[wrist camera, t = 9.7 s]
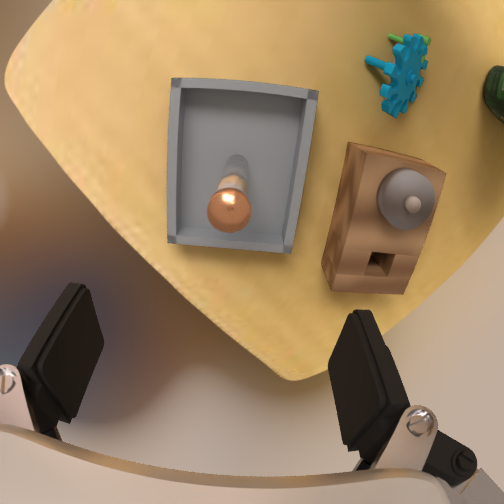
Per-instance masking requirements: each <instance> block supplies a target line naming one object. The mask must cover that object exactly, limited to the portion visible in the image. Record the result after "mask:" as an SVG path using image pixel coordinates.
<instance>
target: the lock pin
mask: <svg viewBox="0 0 504 504" xmlns="http://www.w3.org/2000/svg"><path fill="white" fill-rule="evenodd" d="M247 177H248V163H247V160H246V159H245V158H244V157H243V156H241V155H232V156H230V157H229V158H228V159H227V161H226V163H225V167H224V170H223V173H222V176H221V179H220V183H219V186H218V189H217V192H215V193H214V194H213V196H212V197H211V199H210V201H209V204H208V207H207V217H208V220H209V222H210V223H211V225H212V226H213V227H214V228H216V229H217V230H219V231H222V232H226V233H233V232H237V231H240V230H241V229H243V228H244V227H245V226H246V225H247V224H248V222H249V220H250V218H251V203H250V200H249V198H248V197H247Z"/></svg>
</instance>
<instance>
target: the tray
mask: <svg viewBox="0 0 504 504" xmlns="http://www.w3.org/2000/svg"><path fill="white" fill-rule="evenodd" d="M318 92H319V91H316V90H310V89H304V88H298V87H292V86H285V85H278V84H270V83H261V82H252V81H241V80H227V79H209V78H172V79H171V92H170V107H169V125H168V151H167V236H168V243H173V244H185V245H196V246H208V247H219V248H230V249H242V250H253V251H265V252H276V253H287V254H291V252H292V246H293V241H294V236H295V231H296V225H297V220H298V215H299V209H300V204H301V198H302V193H303V187H304V181H305V175H306V169H307V163H308V157H309V151H310V145H311V139H312V132H313V126H314V119H315V113H316V106H317V99H318ZM232 155H241V156H243V157H244V158H245V159H246V160H247V163H248V177H247V197H248V198H249V200H250V203H251V218H250V220H249V222H248V224H247V225H246V226H245V227H244V228H243V229H241V230H240V231H237V232H233V233H226V232H222V231H219V230H217V229H216V228H214V227H213V226H212V225H211V223H210V222H209V220H208V217H207V207H208V204H209V201H210V199H211V197H212V196H213V194H214V193H215V192H217V189H218V186H219V183H220V179H221V176H222V173H223V170H224V167H225V163H226V161H227V159H228V158H229V157H230V156H232Z"/></svg>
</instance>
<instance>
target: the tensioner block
mask: <svg viewBox="0 0 504 504" xmlns="http://www.w3.org/2000/svg"><path fill="white" fill-rule="evenodd" d="M445 176H446V173H445V172H443V171H441V170H439V169H438V168H436V167H434V166H432V165H430V164H429V163H427V162H425V161H423V160H421V159H418V158H415V157H411V156H407V155H403V154H399V153H395V152H391V151H387V150H383V149H379V148H374V147H370V146H365V145H361V144H356V143H351V142H348V145H347V150H346V156H345V161H344V166H343V171H342V176H341V181H340V185H339V190H338V195H337V199H336V204H335V208H334V213H333V217H332V221H331V226H330V230H329V234H328V238H327V242H326V246H325V250H324V254H323V258H322V262H321V264H322V267H323V270H324V272H325V275H326V278H327V281H328V283H329V286H330V289H331V291H339V292H357V293H378V294H402V295H403V294H404V291H405V289H406V287H407V285H408V282H409V280H410V278H411V275H412V273H413V270H414V268H415V265H416V263H417V260H418V258H419V255H420V253H421V250H422V247H423V245H424V242H425V239H426V237H427V234H428V231H429V228H430V225H431V222H432V219H433V216H434V213H435V210H436V207H437V204H438V200H439V197H440V194H441V190H442V187H443V183H444V180H445Z"/></svg>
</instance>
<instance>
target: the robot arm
mask: <svg viewBox="0 0 504 504" xmlns="http://www.w3.org/2000/svg"><path fill="white" fill-rule="evenodd" d="M103 346H104V339H103V335H102V332H101V329H100V326H99V322H98V319H97V315H96V312H95V308H94V305H93V301H92V297H91V294H90V291H89V289H87V288H86V286H85V285H83V284H79V283H72V282H71V283H69V284H68V285H67V287H66V288H65V289H64V291H63V292H62V294H61V295H60V297H59V298H58V300H57V301H56V303H55V304H54V306H53V307H52V309H51V310H50V312H49V313H48V315H47V316H46V318H45V319H44V321H43V322H42V324H41V326H40V327H39V329H38V330H37V332H36V334H35V335H34V337H33V338H32V340H31V342H30V343H29V345H28V347H27V348H26V350H25V352H24V354H23V355H22V357H21V359H20V361H19V363H18V366H17V367H14V366H12V365H8V364H5V365H1V366H0V504H504V493H503V491H502V490H501V489H500V488H499V487H498V486H497V485H496V484H495V482H494V481H493V480H492V479H491V478H490V477H489V476H488V475H487V474H486V473H485V472H484V470H483V469H482V468H480V469H477V459H476V456H475V454H474V453H473V451H472V450H470V449H469V448H468V447H466V446H464V445H462V444H461V443H459V442H457V441H456V440H454V439H452V438H451V437H449V436H447V435H446V434H444V433H442V432H440V431H439V430H437V429H438V422H437V419H436V416H435V415H434V414H433V412H432V411H431V410H429V409H428V408H426V407H424V406H420V405H414V406H410V403H409V400H408V397H407V394H406V391H405V389H404V386H403V383H402V381H401V378H400V375H399V373H398V370H397V368H396V365H395V362H394V360H393V357H392V355H391V352H390V350H389V348H388V347H387V346H386V345H385V343H384V340H383V338H382V335H381V333H380V331H379V328H378V326H377V323H376V321H375V319H374V316H373V314H372V312H371V311H370V310H354V311H353V313H350V314H349V315H348V317H347V319H346V322H345V324H344V326H343V329H342V331H341V334H340V336H339V338H338V341H337V343H336V345H335V348H334V350H333V352H332V354H331V357H330V359H329V362H328V371H329V375H330V380H331V385H332V390H333V395H334V399H335V405H336V409H337V415H338V420H339V425H340V430H341V436H342V441H343V444H344V445H347V447H348V452H349V451H357V450H359V453H360V457H361V459H360V460H359V462H358V463H357V465H356V466H355V468H354V469H353V471H352V472H343V473H335V474H321V475H307V476H285V477H252V476H229V475H215V474H205V473H195V472H188V471H180V470H174V469H167V468H161V467H156V466H151V465H145V464H140V463H136V462H131V461H127V460H123V459H119V458H115V457H111V456H107V455H104V454H100V453H97V452H93V451H90V450H87V449H83V448H80V447H77V446H74V445H71V444H68V443H65V442H63V441H62V439H61V436H60V434H59V431H58V429H57V423H58V420H60V421H63V422H66V423H69V424H70V422H71V419H72V418H75V417H76V415H77V413H78V410H79V407H80V404H81V402H82V399H83V396H84V394H85V391H86V388H87V386H88V383H89V381H90V378H91V376H92V373H93V371H94V368H95V366H96V364H97V361H98V358H99V356H100V354H101V351H102V349H103Z"/></svg>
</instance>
